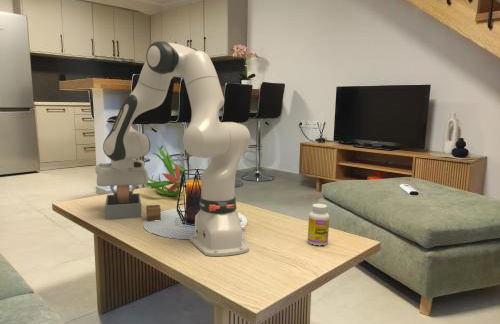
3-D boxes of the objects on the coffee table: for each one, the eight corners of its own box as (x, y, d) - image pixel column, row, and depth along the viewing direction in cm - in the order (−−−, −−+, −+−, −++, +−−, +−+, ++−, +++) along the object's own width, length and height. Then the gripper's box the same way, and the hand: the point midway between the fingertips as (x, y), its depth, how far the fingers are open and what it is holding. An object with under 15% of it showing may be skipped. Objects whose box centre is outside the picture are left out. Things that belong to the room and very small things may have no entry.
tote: (141, 217, 145) (141, 203, 144) (105, 219, 141) (105, 205, 140) (139, 205, 161) (139, 193, 161) (107, 207, 157) (107, 195, 156)
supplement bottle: (312, 247, 118) (314, 208, 116) (304, 240, 125) (306, 203, 123) (331, 245, 120) (333, 207, 118) (322, 238, 126) (324, 202, 124)
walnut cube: (160, 220, 142) (160, 208, 141) (147, 221, 140) (147, 209, 140) (159, 216, 147) (159, 204, 146) (146, 217, 145) (146, 205, 144)
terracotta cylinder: (129, 203, 153) (129, 186, 152) (117, 204, 151) (116, 187, 150) (129, 200, 158) (129, 184, 157) (117, 201, 156) (116, 184, 155)
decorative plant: (167, 215, 166) (134, 200, 186) (210, 196, 182) (175, 184, 203) (157, 161, 158) (124, 151, 178) (203, 146, 174) (168, 138, 195)
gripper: (94, 164, 146) (96, 198, 148) (148, 163, 152) (148, 195, 154) (95, 162, 152) (97, 195, 154) (147, 161, 158) (147, 192, 160)
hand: (123, 195), depth 154 cm, fingers closed on terracotta cylinder, 5 cm apart
